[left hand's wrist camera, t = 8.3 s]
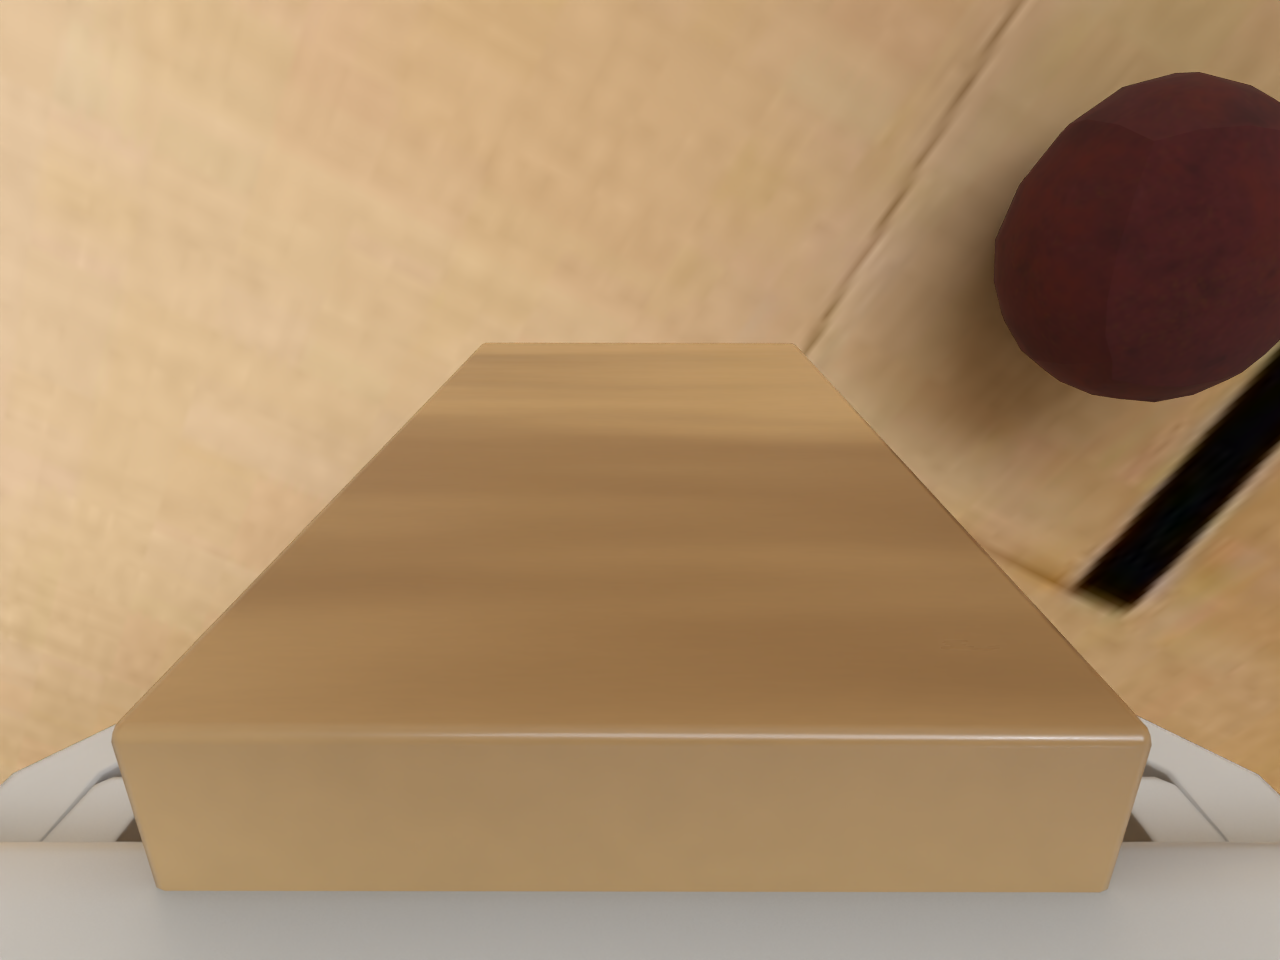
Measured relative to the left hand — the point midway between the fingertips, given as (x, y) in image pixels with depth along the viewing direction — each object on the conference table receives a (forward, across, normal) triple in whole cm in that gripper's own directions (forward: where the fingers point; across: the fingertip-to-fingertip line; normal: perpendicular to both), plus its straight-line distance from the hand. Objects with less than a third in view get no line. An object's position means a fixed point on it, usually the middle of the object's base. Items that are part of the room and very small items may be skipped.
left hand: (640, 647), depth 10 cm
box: (+6, 0, -9) cm, 11 cm away
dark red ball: (+15, +13, +4) cm, 20 cm away
